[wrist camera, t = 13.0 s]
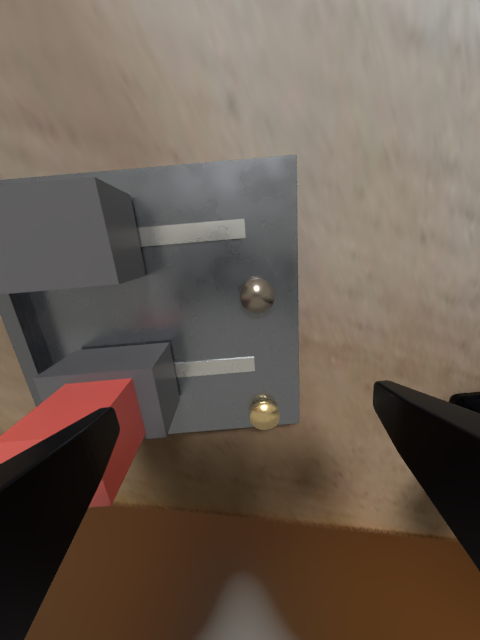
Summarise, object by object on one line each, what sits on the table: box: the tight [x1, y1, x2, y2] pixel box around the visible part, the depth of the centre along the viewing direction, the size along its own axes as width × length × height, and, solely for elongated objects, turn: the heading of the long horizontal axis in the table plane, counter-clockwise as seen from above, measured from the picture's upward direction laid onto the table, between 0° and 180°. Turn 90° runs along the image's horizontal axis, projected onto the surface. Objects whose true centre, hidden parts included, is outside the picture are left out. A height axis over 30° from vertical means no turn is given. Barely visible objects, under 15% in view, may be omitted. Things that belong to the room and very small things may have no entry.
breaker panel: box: [0, 155, 299, 434], centre depth 18 cm, size 20×20×4 cm
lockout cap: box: [0, 378, 146, 508], centre depth 13 cm, size 4×4×4 cm
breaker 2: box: [33, 342, 180, 439], centre depth 17 cm, size 7×5×4 cm
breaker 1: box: [0, 177, 146, 294], centre depth 14 cm, size 7×5×4 cm
